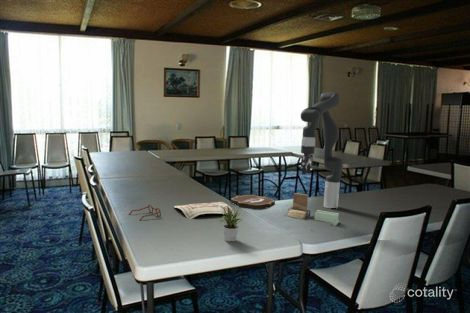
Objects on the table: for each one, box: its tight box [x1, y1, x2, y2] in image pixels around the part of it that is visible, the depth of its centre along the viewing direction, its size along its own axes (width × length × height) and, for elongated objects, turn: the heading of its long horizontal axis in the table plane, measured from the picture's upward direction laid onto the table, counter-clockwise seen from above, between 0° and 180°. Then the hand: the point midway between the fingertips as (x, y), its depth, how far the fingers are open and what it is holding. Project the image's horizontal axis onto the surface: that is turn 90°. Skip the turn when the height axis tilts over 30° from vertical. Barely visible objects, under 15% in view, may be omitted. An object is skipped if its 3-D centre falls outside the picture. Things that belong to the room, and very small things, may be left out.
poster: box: [173, 201, 236, 220], centre depth 219 cm, size 28×6×30 cm
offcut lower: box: [288, 214, 306, 220], centre depth 214 cm, size 5×9×2 cm, turn 64°
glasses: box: [127, 204, 162, 221], centre depth 202 cm, size 13×13×5 cm
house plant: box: [217, 206, 246, 242], centre depth 171 cm, size 14×14×16 cm
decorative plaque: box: [230, 194, 276, 210], centre depth 246 cm, size 30×3×30 cm
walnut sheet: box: [292, 192, 309, 211], centre depth 218 cm, size 2×8×12 cm, turn 64°
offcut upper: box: [287, 210, 306, 216], centre depth 213 cm, size 5×9×2 cm, turn 68°
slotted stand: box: [313, 209, 340, 227], centre depth 211 cm, size 8×12×6 cm, turn 64°
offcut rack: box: [282, 206, 313, 221], centre depth 216 cm, size 12×14×4 cm
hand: (306, 173), depth 214 cm, fingers open, 8 cm apart
